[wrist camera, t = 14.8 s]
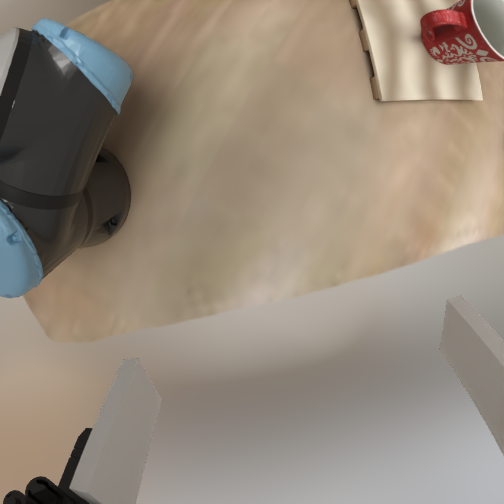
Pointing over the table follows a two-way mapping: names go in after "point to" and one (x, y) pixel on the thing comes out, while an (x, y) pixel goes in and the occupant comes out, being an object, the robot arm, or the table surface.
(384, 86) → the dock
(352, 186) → the table surface
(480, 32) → the mug
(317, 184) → the table surface
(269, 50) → the table surface
